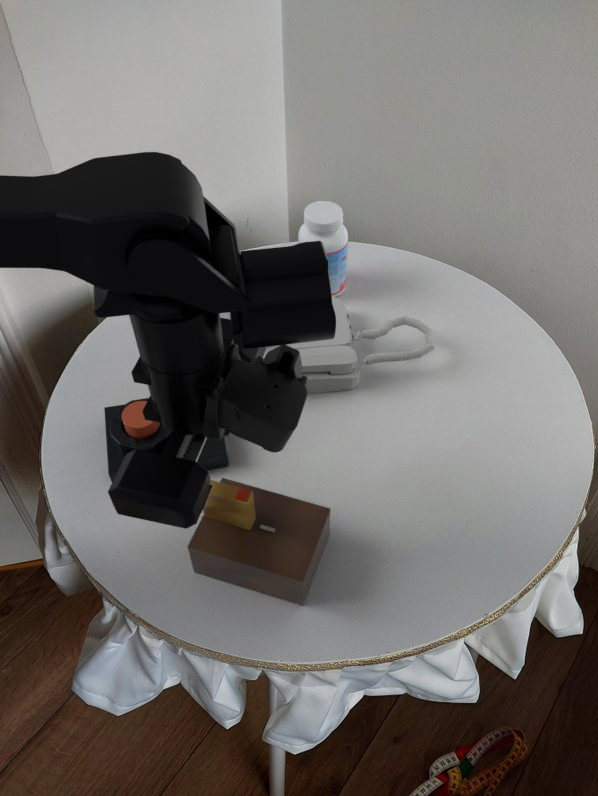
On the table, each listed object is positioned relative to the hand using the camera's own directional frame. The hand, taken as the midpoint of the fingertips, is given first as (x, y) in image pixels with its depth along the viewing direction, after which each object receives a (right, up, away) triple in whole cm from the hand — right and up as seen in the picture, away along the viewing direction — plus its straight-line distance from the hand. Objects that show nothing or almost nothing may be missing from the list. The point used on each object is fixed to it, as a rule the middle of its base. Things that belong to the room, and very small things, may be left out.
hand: (207, 475), depth 62 cm
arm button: (-9, +5, +13) cm, 16 cm away
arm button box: (-7, +3, +16) cm, 18 cm away
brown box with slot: (+4, -8, +8) cm, 12 cm away
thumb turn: (+1, -4, +5) cm, 7 cm away
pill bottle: (+9, +23, +32) cm, 41 cm away
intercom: (+10, +14, +25) cm, 31 cm away
